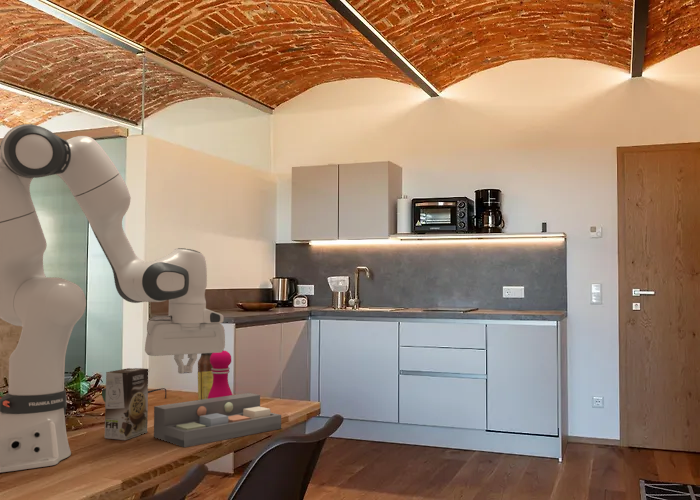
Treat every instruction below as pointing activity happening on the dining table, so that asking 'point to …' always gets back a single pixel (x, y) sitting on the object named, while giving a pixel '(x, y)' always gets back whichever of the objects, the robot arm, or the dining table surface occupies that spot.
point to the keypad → (192, 410)
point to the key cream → (256, 412)
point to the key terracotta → (237, 418)
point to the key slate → (213, 419)
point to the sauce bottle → (204, 376)
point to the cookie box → (126, 403)
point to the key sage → (190, 426)
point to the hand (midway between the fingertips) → (185, 373)
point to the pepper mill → (220, 374)
